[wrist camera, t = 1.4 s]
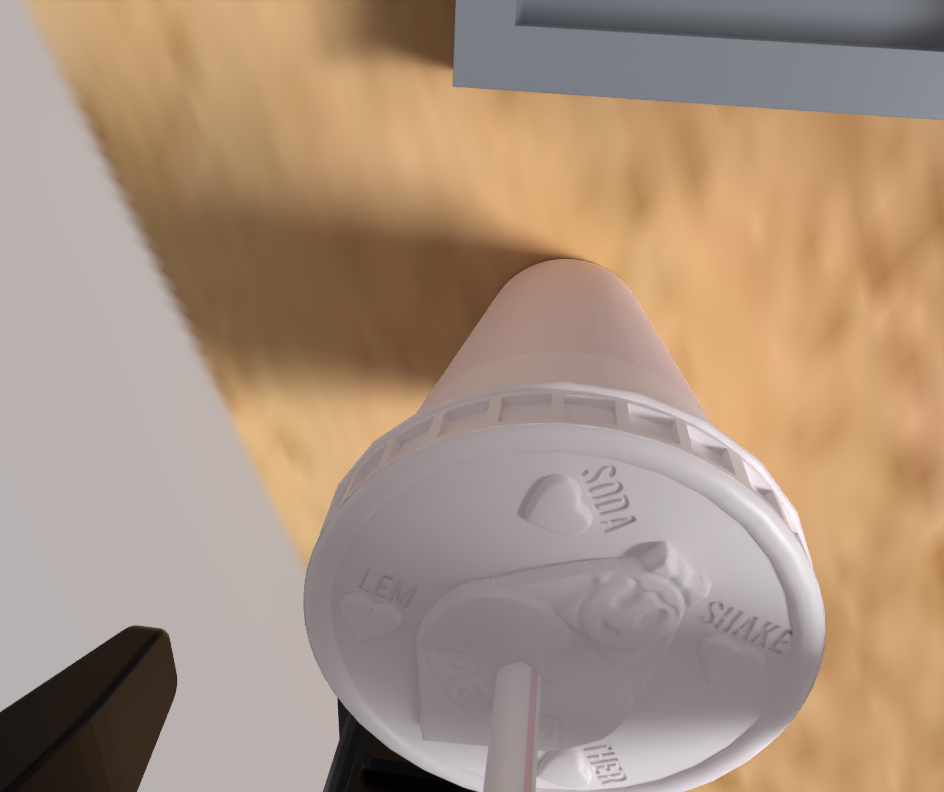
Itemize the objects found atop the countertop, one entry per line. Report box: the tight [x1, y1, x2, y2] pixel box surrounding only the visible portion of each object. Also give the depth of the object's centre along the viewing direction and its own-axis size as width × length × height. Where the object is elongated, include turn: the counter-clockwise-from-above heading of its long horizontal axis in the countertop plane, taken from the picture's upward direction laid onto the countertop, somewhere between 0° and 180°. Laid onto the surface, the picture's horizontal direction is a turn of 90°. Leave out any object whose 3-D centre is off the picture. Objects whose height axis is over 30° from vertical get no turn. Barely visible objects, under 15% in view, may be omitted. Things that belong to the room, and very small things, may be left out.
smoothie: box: [304, 259, 826, 792], centre depth 11 cm, size 6×6×14 cm
